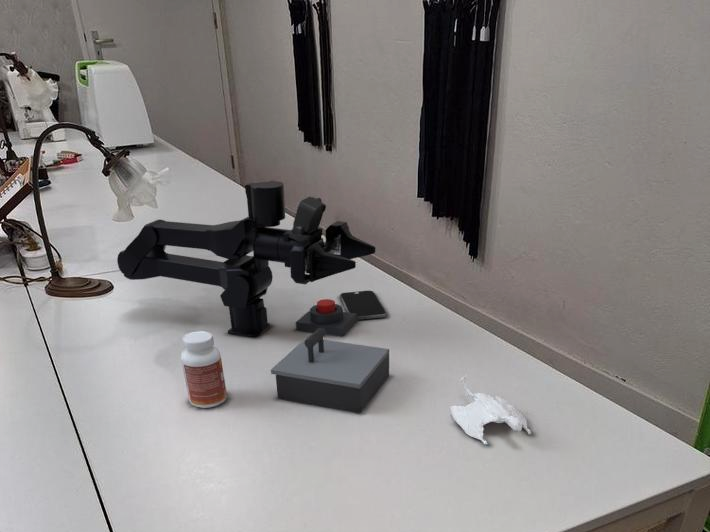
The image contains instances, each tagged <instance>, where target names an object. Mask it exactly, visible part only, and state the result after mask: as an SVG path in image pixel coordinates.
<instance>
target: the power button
mask: <svg viewBox="0 0 710 532" xmlns="http://www.w3.org/2000/svg"><path fill="white" fill-rule="evenodd" d="M335 304H336V301H335V300H333V299H329V298H325V299H319V300H318V301H317V302H316V305H317V312H319V313H331V312H334V311H335Z"/></svg>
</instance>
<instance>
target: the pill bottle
mask: <svg viewBox="0 0 710 532" xmlns="http://www.w3.org/2000/svg"><path fill="white" fill-rule="evenodd" d="M182 347H183V348H184V349H183V351H182V352H181V354H180V360H181V365H182V370H183V376H184V382H185V387H186V392H187V396H188V400H189V403H190V404H191V405H192V406H194V407H196V408H202V409H207V408H208V409H209V408H214V407H217V406H220V405H221V404H223V403H224V402H225V401H226V400H227V397H228V394H227V393H228V392H227V388H226V387H227V386H226V380H225V374H224V368H223V361H222V355H221V352H220V350H219V348H218V347H217V346H215V341H214V335H213V334H212V333H211V332H209V331H206V330H205V331H204V330H203V331H202V330H200V331H199V330H198V331H193V332H189V333H186V334H185V335H183V336H182Z"/></svg>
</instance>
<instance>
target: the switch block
mask: <svg viewBox="0 0 710 532" xmlns="http://www.w3.org/2000/svg"><path fill="white" fill-rule="evenodd" d="M357 322H358V320H357V314H355V313H347V311H344V308H343V306H342V305H340V304H338V303H335V311H334V312H331V313H319V312H317V304H315V305H312V306H311V307H310V308H309V310H308V311H307V312H306V313H304V314H303V315H302V316H301V317H299V319H297V321H295V330H296V331H300V332H306V333H312V334H313V333H314V332H315V331H316V330H317V329H318V328H323V329H325V331H326V335H329V336H336V337H344V335H346V334H347V332H349V331H350V329H351V328H353V326H355V325H356V324H357Z"/></svg>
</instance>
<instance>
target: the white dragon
mask: <svg viewBox="0 0 710 532" xmlns="http://www.w3.org/2000/svg"><path fill="white" fill-rule="evenodd" d="M466 377H467V374H465V375H462V376H460V377H459V379H460V382H461V384H462V388H464V390H465V393H466V394H467V397H468V398H469V399H472V400H473V401H471V402H470V403H467V405H451V406H450V414H451V416H452V419H453V420H454V421H455V422H456V423H457V424H458V425H459V427H461V429H463V431H464V432H465V434H466V435H468V436H470V437H471V438H475V439H477V440H480V441H481V442H482V443H483V445H485V446H488V441H487V440H486V439H484V430H485V428H484V426H485V425H487V424H489V423H496V424H503V423H505V424H507V425H508V427H510V428H511V429H512V430H513V431H514V432H521V431H522V430H523V429H524V430H525V431H526V432H527V434H528V435H532V431H531V430H530V429H529V428H528V420H527V419H526V418H525V416H523V415H522V413H521V412H520V411H518V410H517V409H516V408H515V407H514V405H512V404H510V403H509V402H507V401H506V400H505V399H503V398H502V397H501V396H499V395H496V396H495V398H494V397H493V396H490V395H488V394H487V393H483V392H478V393H473V392H471V390H470V389H469V387H468V386H467V385H466V382H465V380H466Z"/></svg>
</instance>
